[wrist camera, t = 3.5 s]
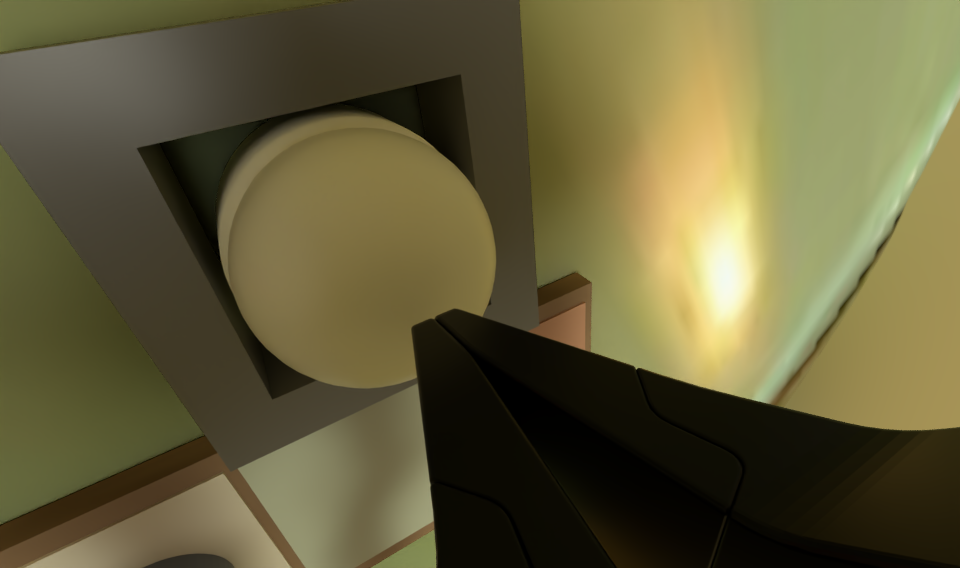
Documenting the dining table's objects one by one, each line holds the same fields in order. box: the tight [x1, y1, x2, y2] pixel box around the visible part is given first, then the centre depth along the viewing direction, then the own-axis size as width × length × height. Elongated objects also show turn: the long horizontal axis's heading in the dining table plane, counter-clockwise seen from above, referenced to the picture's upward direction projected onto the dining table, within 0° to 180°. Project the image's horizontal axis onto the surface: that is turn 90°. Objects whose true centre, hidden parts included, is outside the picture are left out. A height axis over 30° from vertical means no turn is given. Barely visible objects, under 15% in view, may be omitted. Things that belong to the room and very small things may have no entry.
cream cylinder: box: [215, 104, 496, 388], centre depth 11 cm, size 6×6×6 cm
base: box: [0, 0, 539, 472], centre depth 12 cm, size 10×10×3 cm
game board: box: [0, 273, 592, 568], centre depth 18 cm, size 22×10×1 cm, turn 98°
